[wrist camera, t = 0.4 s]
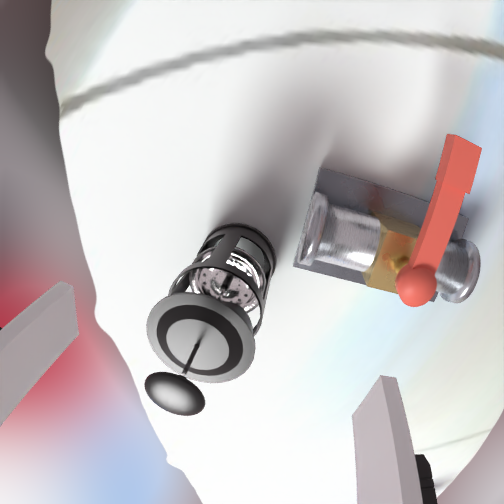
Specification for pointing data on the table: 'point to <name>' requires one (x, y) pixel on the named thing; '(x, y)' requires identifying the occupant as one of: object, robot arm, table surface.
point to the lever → (438, 220)
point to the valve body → (377, 237)
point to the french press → (209, 319)
